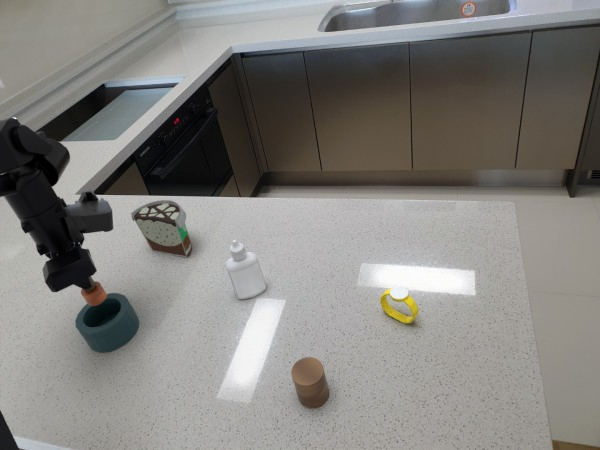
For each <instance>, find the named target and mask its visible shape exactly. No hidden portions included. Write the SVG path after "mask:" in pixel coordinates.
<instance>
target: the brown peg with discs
mask: <svg viewBox="0 0 600 450" xmlns="http://www.w3.org/2000/svg"><path fill="white" fill-rule="evenodd" d="M89 279H90V282H91V285H92V287H91V288H89V289H87V290H84V289H82V288H81V289H80V294H81V296H82V297H83V299H84V301H85V302H86V304H88V305H90V306H96V305H99V304H101V303H102V302H103V301H104V300H105V299H106V297H107V294H108V293H107V292H106V290H105V289H104V287H103V285H102V284H101V282H100V281H98V280H97V281H95V280H94V279H93V276H90V277H89Z"/></svg>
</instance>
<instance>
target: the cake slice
mask: <svg viewBox="0 0 600 450" xmlns="http://www.w3.org/2000/svg"><path fill="white" fill-rule="evenodd" d="M130 217H131V220H132V222H135V224H136V225H137V227H138V229H139V231H140V232H141V234H142V236H143V237H144V239H145V241H146V243H147V245H148V246H149V248H150V250H151V251H152V252H156V253H160V254H166V255H170V256H175V257H181V258H186V259H188V258H189V257H190V255H191V253H192V250H193V247H192V246H193V245H192V242H191V238H190V235H189V231H188V227H187V224H186V221H187V214H186V211H185V210H184V209H183V207H182V206H181V205H180V204H179V203H178V202H176V201H173V200H170V199H159V200H156V201H155V200H154V201H151V202H147V203H145V204H143V205H141V206H139V207H137V208H135V209H134V210H133V211H132V212H131V213H130Z"/></svg>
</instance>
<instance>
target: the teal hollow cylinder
mask: <svg viewBox="0 0 600 450" xmlns="http://www.w3.org/2000/svg"><path fill="white" fill-rule="evenodd" d="M106 294H107V297H106V299H105V300H104V301H103V302H102V303H101V304H99V305H96V306H90V305H88V304H87V303H86V304H85V305H84V306H83V307H82V308H81V309H80V310H79V312H78V313H77V315H76V318H75V328H76V330H77V331H78V332H79V334H80V336H82V338H83V340H84V341H85V342H86V344H87V345H88V346H89V348H90V349H91V350H93V351H94V352H97V353H108V352H113V351H115V350H116V351H117V350H119V348H121V347H123V346H125V345H126V344H128V343H129V342H130V341H131V340H132V339H133V338H134V336H135V335H136V334H137V332H138V330H139V328H140V319H139V317H138V314H137V312H136V311H135V309H134V308H133V305H132V304H131V302H130V301H129V299H128V298H127V296H126V295H124V294H122V293H120V292H110V293H106Z"/></svg>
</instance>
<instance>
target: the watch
mask: <svg viewBox="0 0 600 450" xmlns="http://www.w3.org/2000/svg"><path fill="white" fill-rule="evenodd" d="M387 296H389V297H390V299H391V300H392V301H394V302H397V303H402V302H403V303H404V304H405V305H406V306H407V307H408V308H409V310H410V312H411V316H410V315H409V316H407V315H406V314H404V313H402V312H400V311H397V310H396V309H394V308H393V307H392V305H391V304H389V301H388V299H387ZM379 304H380V307H381V308H382V309H383V311H384V312H385V314H387V316H388V317H391V318H393V319H395V320H397V321H398V322H400V323H402V324H406V325H407V324H412V323H413V322H414V321H415V320H416V318H417V317H418V315H419V306H418V305H417V303H416V301H415V300H414V298H413V297H412V296H410V295H409V289H407V287H405V286H404V285H395V286H393V287H390V288H387V289H386V290H385V291H384V292H383V293H382V294H381V295H380V298H379Z"/></svg>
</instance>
